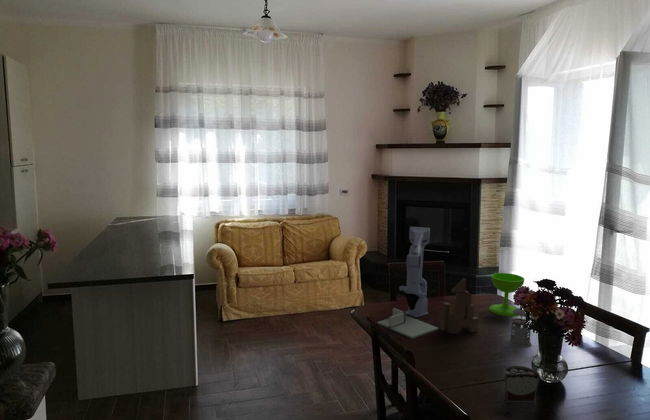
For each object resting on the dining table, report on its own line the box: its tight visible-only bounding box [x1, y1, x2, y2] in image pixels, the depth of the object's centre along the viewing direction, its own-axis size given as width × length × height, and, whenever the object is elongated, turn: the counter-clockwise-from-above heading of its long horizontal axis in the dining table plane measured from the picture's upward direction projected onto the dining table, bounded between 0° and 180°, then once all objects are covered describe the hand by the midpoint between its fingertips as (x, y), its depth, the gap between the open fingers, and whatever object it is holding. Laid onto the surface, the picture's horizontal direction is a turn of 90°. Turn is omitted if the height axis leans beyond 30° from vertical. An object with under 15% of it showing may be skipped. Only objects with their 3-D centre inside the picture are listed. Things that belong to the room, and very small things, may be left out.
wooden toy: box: [440, 277, 479, 335], centre depth 219 cm, size 16×7×25 cm, turn 104°
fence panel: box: [388, 313, 404, 327], centre depth 223 cm, size 9×1×4 cm, turn 131°
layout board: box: [376, 314, 439, 340], centre depth 224 cm, size 18×22×1 cm
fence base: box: [392, 307, 407, 323], centre depth 229 cm, size 1×8×5 cm, turn 38°
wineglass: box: [488, 272, 525, 317], centre depth 247 cm, size 16×16×18 cm
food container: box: [502, 365, 542, 403], centre depth 163 cm, size 12×6×10 cm, turn 92°
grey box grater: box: [507, 307, 533, 349], centre depth 207 cm, size 10×12×25 cm
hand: (411, 309), depth 218 cm, fingers closed
